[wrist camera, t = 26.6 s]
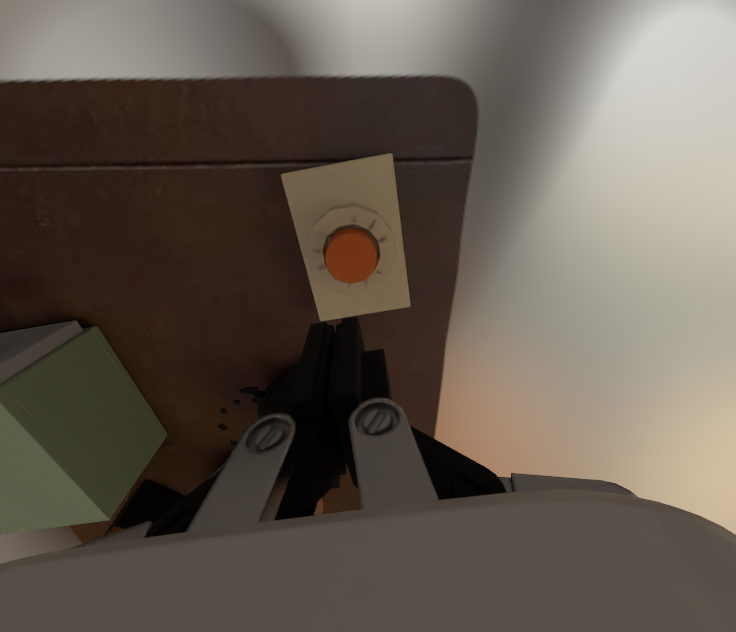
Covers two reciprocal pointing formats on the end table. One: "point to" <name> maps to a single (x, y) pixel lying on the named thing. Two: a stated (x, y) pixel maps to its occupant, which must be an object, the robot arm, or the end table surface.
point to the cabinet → (72, 437)
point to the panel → (350, 210)
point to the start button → (351, 255)
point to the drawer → (32, 345)
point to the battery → (144, 507)
